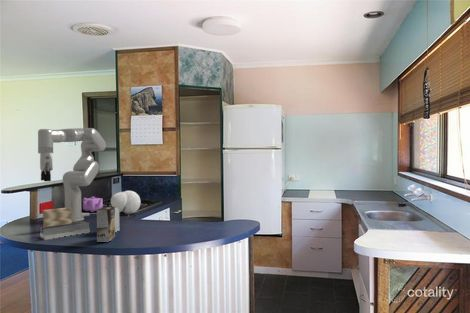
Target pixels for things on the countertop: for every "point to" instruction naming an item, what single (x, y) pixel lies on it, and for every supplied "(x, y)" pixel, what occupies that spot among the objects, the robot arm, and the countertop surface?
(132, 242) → the countertop surface
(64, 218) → the door panel
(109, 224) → the coffee box
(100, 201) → the purple lumpy block
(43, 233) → the door track
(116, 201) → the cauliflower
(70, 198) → the robot arm
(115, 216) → the supplement box
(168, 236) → the countertop surface
